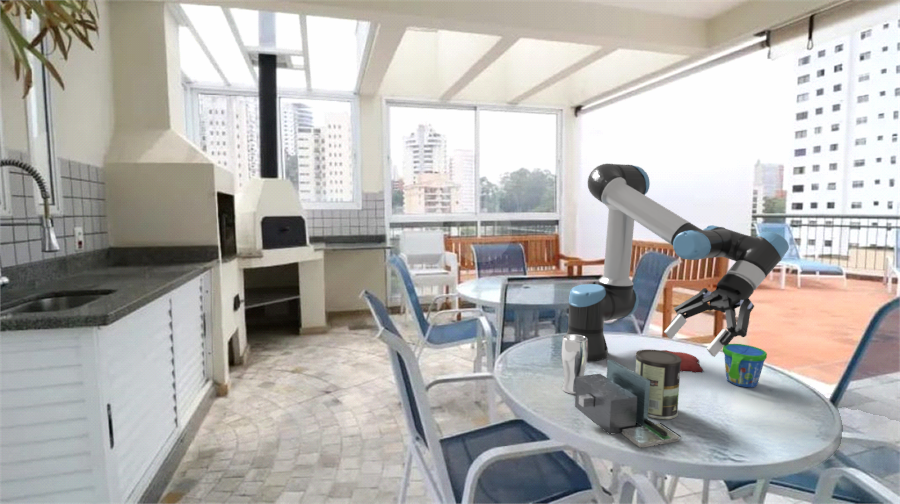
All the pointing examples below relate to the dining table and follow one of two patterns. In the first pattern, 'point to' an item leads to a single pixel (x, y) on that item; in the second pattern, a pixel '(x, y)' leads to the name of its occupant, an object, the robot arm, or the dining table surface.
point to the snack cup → (743, 364)
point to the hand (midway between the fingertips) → (687, 343)
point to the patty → (687, 362)
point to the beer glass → (573, 360)
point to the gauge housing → (617, 411)
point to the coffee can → (660, 381)
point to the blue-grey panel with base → (633, 385)
